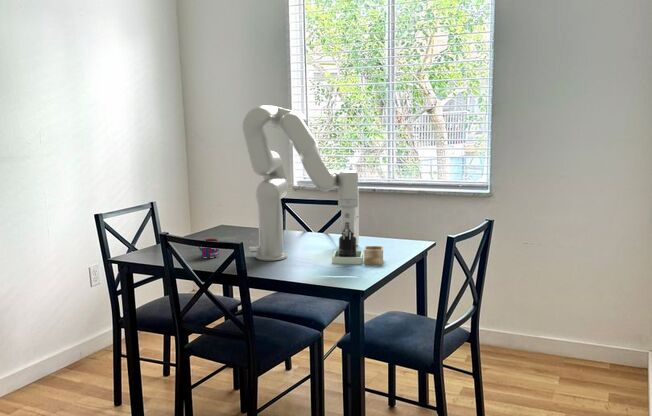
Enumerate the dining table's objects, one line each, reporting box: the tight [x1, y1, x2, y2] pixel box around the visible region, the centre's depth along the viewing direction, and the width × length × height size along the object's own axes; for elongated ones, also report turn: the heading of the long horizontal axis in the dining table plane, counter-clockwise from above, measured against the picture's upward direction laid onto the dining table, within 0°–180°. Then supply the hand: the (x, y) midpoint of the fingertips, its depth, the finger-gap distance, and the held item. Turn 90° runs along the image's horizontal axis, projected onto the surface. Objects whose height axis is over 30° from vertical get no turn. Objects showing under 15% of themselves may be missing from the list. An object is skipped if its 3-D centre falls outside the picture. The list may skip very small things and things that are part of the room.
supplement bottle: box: [338, 230, 357, 257], centre depth 237 cm, size 7×7×12 cm
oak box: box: [363, 245, 384, 265], centre depth 234 cm, size 7×7×6 cm
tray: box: [332, 249, 364, 265], centre depth 237 cm, size 11×11×3 cm
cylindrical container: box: [353, 187, 360, 246], centre depth 264 cm, size 7×7×25 cm
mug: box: [198, 238, 220, 258], centre depth 247 cm, size 7×10×7 cm
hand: (348, 246), depth 237 cm, fingers open, 9 cm apart
